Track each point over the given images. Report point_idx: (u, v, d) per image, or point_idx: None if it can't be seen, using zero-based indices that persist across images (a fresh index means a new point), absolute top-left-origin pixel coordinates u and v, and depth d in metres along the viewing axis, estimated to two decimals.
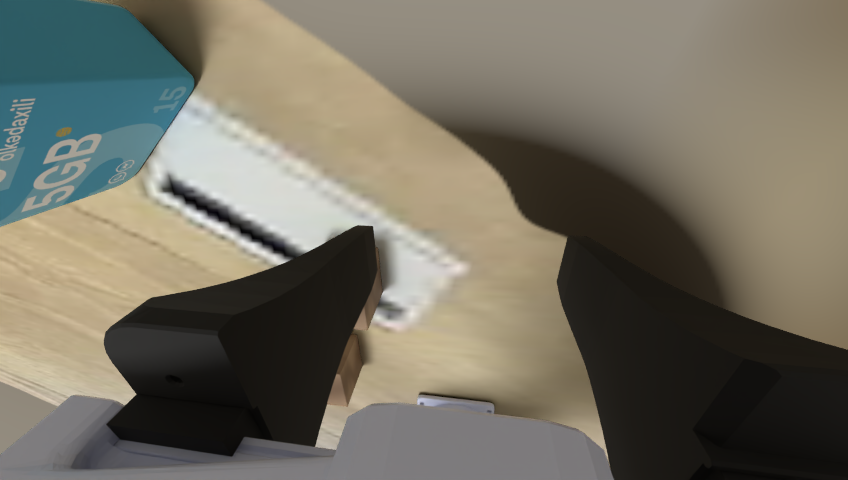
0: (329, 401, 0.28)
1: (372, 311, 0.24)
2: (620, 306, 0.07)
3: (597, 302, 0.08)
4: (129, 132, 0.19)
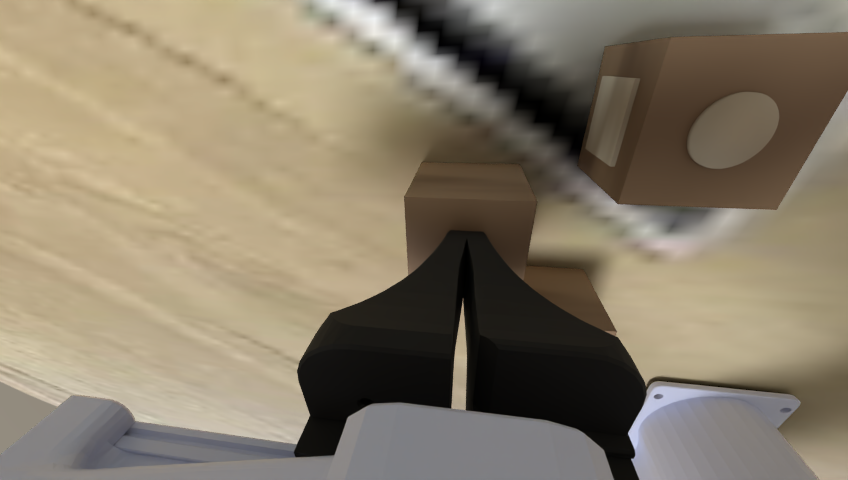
0: None
1: None
2: (472, 295, 0.08)
3: (470, 292, 0.09)
4: None
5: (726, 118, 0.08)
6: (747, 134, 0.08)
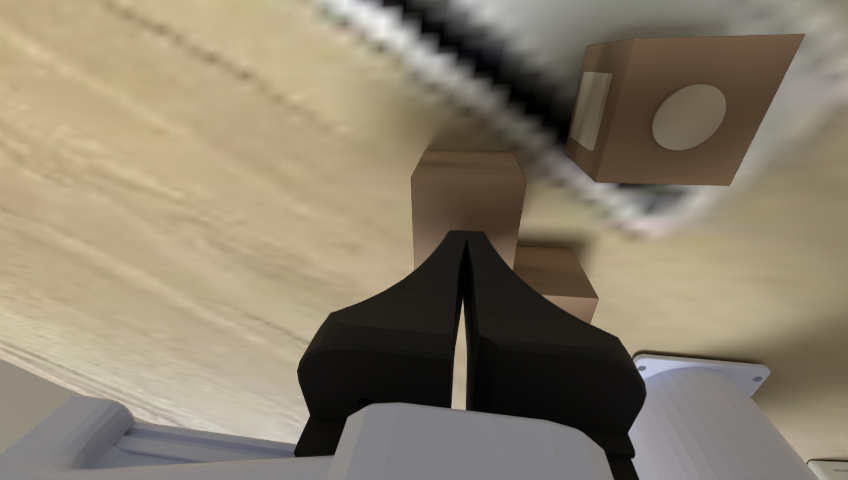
0: None
1: None
2: (472, 295, 0.08)
3: (470, 293, 0.09)
4: None
5: (682, 106, 0.10)
6: (701, 120, 0.10)
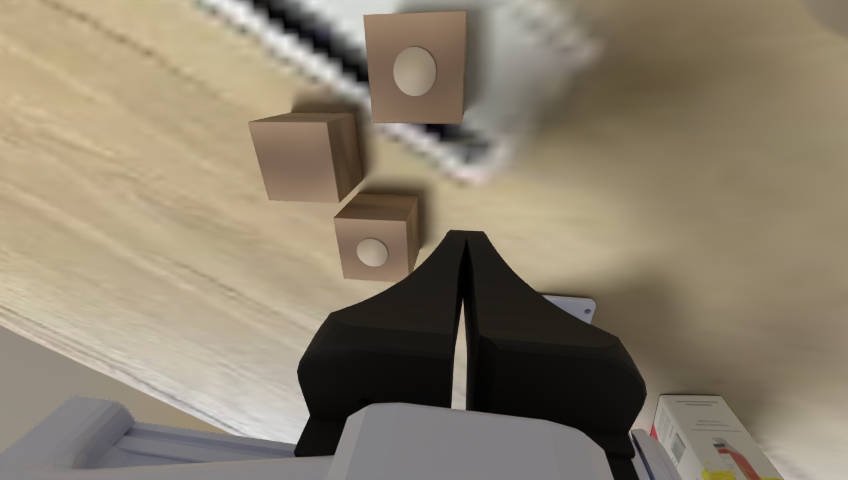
0: (384, 275, 0.20)
1: None
2: (472, 295, 0.08)
3: (469, 292, 0.09)
4: None
5: (407, 63, 0.14)
6: (425, 73, 0.14)
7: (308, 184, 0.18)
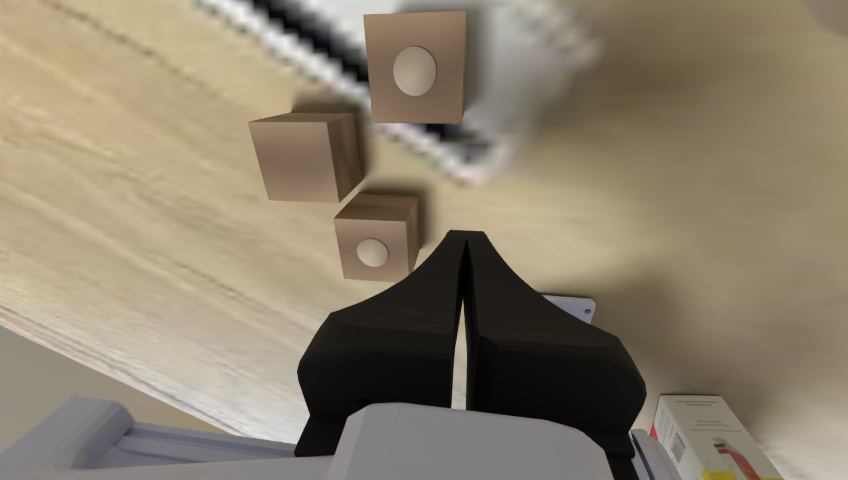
0: (384, 275, 0.20)
1: None
2: (472, 295, 0.08)
3: (469, 292, 0.09)
4: None
5: (407, 63, 0.14)
6: (425, 73, 0.14)
7: (308, 184, 0.18)
